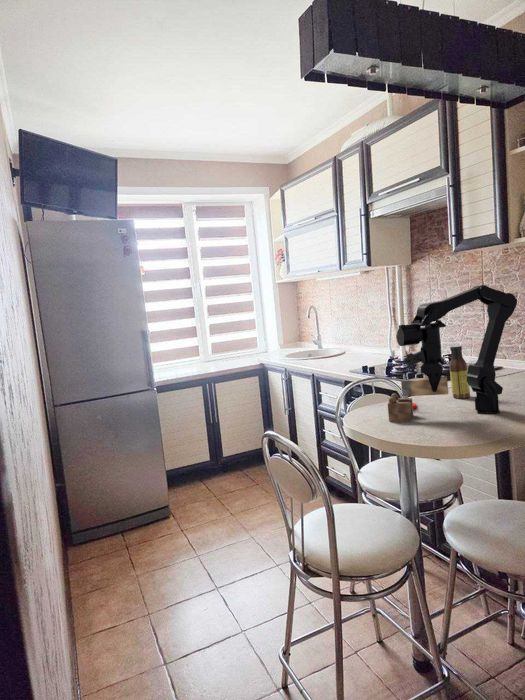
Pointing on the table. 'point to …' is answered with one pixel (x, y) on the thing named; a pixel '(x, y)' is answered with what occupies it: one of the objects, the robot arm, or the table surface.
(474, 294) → the robot arm
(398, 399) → the arched block with knobs
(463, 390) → the sauce bottle
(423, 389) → the bed rail
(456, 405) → the table surface
